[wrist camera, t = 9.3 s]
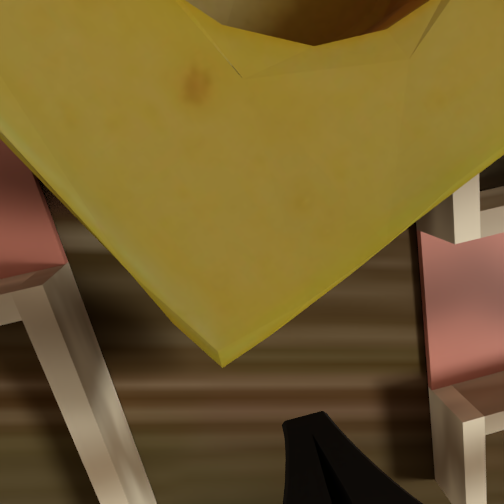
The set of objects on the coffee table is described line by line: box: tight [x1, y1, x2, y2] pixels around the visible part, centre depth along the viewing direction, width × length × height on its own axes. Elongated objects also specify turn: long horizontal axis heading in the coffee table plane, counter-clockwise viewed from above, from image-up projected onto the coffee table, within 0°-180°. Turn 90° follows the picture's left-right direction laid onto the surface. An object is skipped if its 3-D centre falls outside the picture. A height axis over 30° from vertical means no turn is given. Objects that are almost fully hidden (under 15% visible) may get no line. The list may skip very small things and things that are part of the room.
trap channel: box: [0, 139, 504, 504], centre depth 14 cm, size 30×29×2 cm
